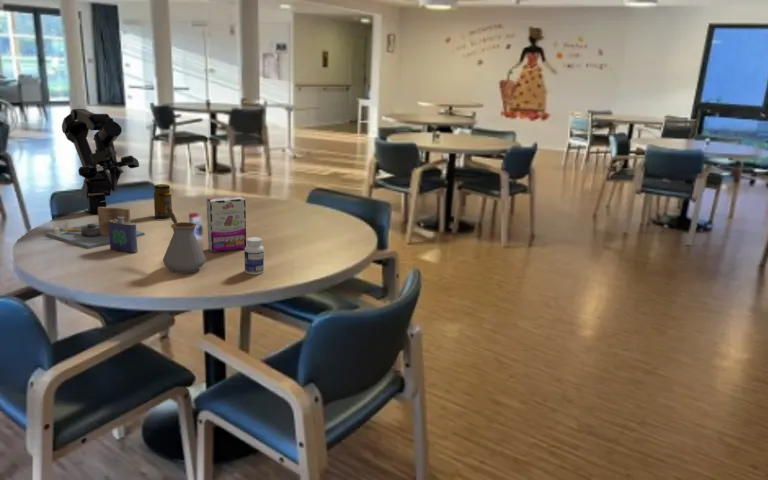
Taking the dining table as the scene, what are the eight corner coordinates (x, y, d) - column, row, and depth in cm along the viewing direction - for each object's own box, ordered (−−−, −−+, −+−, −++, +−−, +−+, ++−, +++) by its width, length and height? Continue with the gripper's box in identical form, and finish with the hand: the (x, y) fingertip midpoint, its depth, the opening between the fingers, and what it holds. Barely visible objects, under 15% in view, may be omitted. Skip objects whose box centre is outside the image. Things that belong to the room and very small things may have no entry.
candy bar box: (241, 245, 189) (241, 195, 185) (246, 249, 185) (246, 198, 181) (207, 248, 183) (205, 197, 179) (211, 253, 179) (210, 201, 175)
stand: (45, 235, 186) (44, 225, 185) (101, 223, 203) (101, 214, 202) (89, 248, 176) (88, 238, 175) (144, 235, 193) (144, 225, 192)
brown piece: (62, 234, 185) (59, 206, 182) (72, 229, 190) (70, 202, 188) (126, 238, 184) (124, 211, 182) (134, 233, 190) (132, 207, 187)
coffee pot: (211, 272, 163) (210, 220, 159) (169, 278, 157) (167, 224, 152) (189, 251, 180) (187, 204, 176) (150, 255, 173) (147, 206, 169)
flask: (139, 251, 177) (137, 217, 174) (133, 254, 174) (130, 219, 171) (113, 247, 179) (111, 213, 176) (107, 250, 176) (104, 215, 173)
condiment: (169, 213, 222) (168, 182, 219) (177, 218, 216) (176, 187, 212) (150, 215, 217) (148, 184, 214) (157, 221, 211) (156, 188, 208)
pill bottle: (246, 268, 168) (245, 236, 165) (264, 269, 168) (265, 236, 165) (243, 274, 162) (243, 241, 160) (262, 275, 163) (262, 242, 160)
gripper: (66, 147, 193) (74, 191, 191) (122, 134, 195) (131, 178, 193) (82, 156, 204) (90, 198, 202) (135, 144, 206) (144, 186, 204)
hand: (113, 190), depth 200 cm, fingers closed
